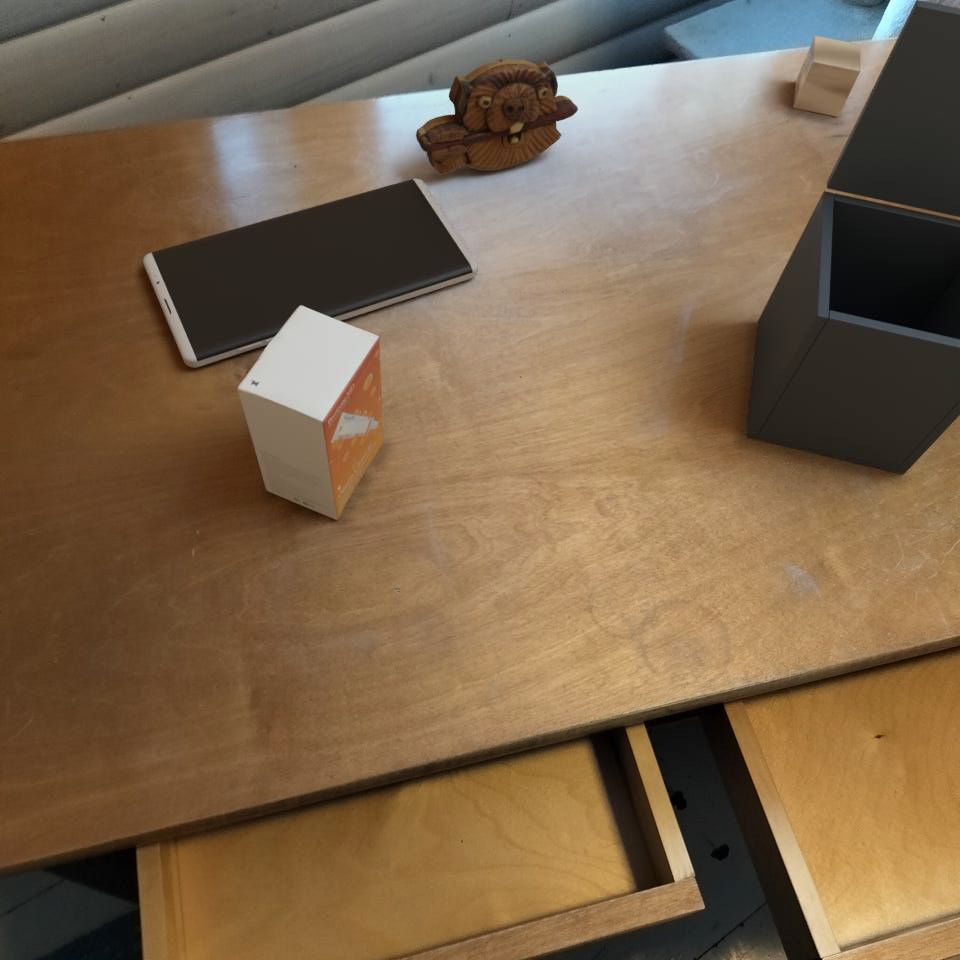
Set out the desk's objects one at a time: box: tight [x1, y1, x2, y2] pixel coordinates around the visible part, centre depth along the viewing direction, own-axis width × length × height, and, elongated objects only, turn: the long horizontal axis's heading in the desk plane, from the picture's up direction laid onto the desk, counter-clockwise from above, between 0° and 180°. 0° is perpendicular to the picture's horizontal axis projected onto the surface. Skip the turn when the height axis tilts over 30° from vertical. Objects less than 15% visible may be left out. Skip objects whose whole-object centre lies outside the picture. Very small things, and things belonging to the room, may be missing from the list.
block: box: [792, 35, 862, 118], centre depth 93 cm, size 5×5×6 cm
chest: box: [745, 190, 960, 475], centre depth 67 cm, size 13×13×15 cm
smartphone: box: [142, 178, 480, 369], centre depth 76 cm, size 13×27×2 cm, turn 117°
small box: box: [237, 305, 385, 521], centre depth 61 cm, size 8×6×13 cm
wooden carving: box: [415, 58, 579, 175], centre depth 82 cm, size 16×5×10 cm, turn 118°
